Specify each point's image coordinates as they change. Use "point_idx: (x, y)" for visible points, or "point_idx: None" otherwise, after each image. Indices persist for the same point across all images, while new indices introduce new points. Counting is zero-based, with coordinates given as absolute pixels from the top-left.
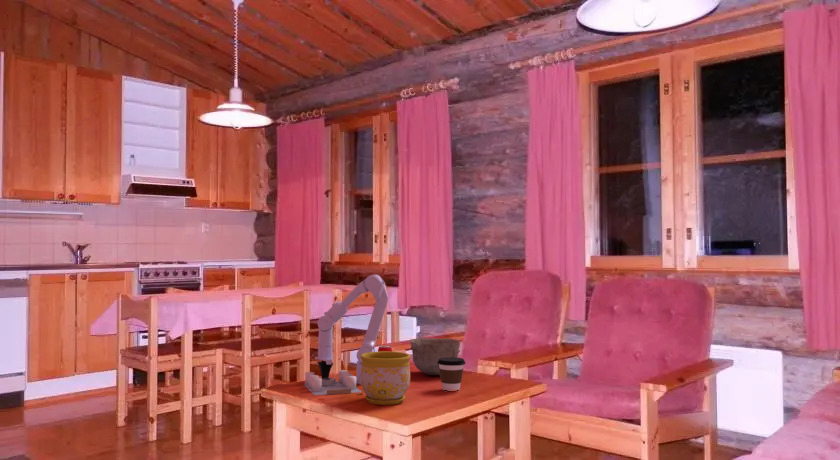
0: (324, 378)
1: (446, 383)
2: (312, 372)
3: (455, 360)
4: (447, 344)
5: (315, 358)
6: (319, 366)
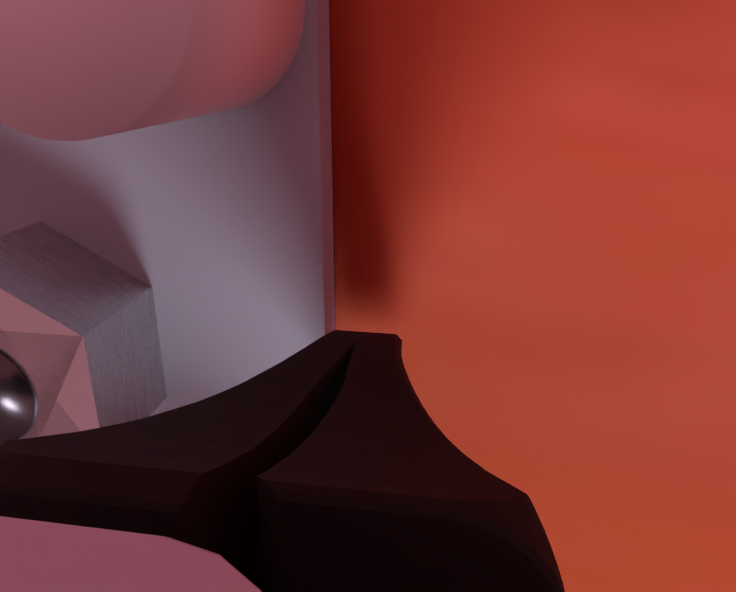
0: (17, 321)
1: None
2: (77, 73)
3: None
4: None
5: (3, 537)
6: (354, 448)
